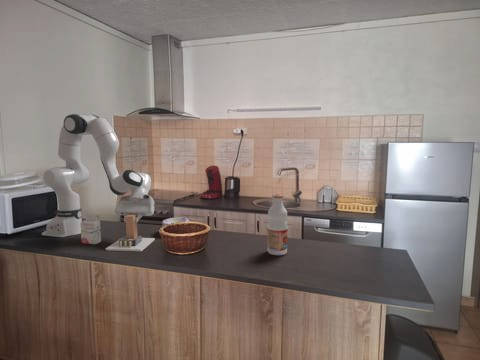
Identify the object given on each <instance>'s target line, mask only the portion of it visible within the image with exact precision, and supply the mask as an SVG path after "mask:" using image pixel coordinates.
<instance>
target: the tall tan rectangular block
mask: <svg viewBox="0 0 480 360" xmlns="http://www.w3.org/2000/svg"><path fill="white" fill-rule="evenodd" d="M137 217H138V216H136V215H127V216H126V222H125V232H126V233H125V234H126V235H127V239H135V238H137V237H138V222H134V220H135V218H137ZM126 235H125V236H126Z"/></svg>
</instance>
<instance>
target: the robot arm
mask: <svg viewBox="0 0 480 360" xmlns="http://www.w3.org/2000/svg"><path fill="white" fill-rule="evenodd" d="M114 130H115V129H113V127H112V125H111V124H110V122H109V121H108V120H107V119H105V118H104V117H99V116H97V115H95V114H87V113H82V114H81V113H79V114H77V113H72V114H69V115H66V116H65V117H64V119H63V125H62V127H61V129H60V133H59V138H58V139H59V140H58V148H57V149H58V150H57V155H58V157H59V158H60V159H61V160H63V161H65V166H59V167H58V166H57V167H52V168H49V169H46V170H45V171H44V173H43V175H42V176H43V177H42V178H43V179H42V180H43V181H44V184H45V185H46V186H47V187H50V188H51V189H52V190H53V191H54V193H55V194H56V197H57V204H58V205H57V206H58V210H56V211H54V213H55V214H56V216H55V217H54V218H52V219H51V220H50V221H49V222H48V223H47V224H46V229H45V230H44V231H42V232H41V236H46V237H57V238H65V237H69V236H75V235H81V223H80V222H82V221H83V220H82V218H83V216H82V215H83V213H82V211H83V210H82V208H81V198H80V194H79V193H77V192H76V191H73V190H72V188H71V186H77V185H81V184H84V183H86V182H88V181H89V179H90V171H89V169H88V168H87V167H86V166H85V165H84V164H83V162H82V158H81V154H82V153H81V152H82V151H81V150H82V138H83V136H84V135H85V136H86V135H91V136H92V138H93V140H94V141H95V143H96V145H97V148H98V151H99V152H98V153H99V157H100V160H101V161H100V162H101V164H102V166H103V167H102V168H104V172H105V173H106V177H107V179H108V183H109V184H108V185H109V189H110V191H111V192H112V193H113V194H114V195H117V196H124V195H125V194H126V193H128V192H129V191H131V192H130V195H129V198H128V199H124V198H122V199H121V200H118V202H117V205H116V206H115V208H114V212H115V214H116V215H117V216H123V217H124V219H123V221H124V223H126V216H127V215H136V217H137V218H135V220H134V222H137V223H139V220H140V219H142V217H143V216H145V217H147V216H149V217H151V216H153V215H154V212H155V200H154V198H153V197H152V196H151V195H149V193H150V189H151V186H152V185H151V184H152V178H151V175H149V174H148V173H146V172H136V171H135V170H133V169H126V170H124V171H123V172H122V173H120V174H119V172H118V169H117V165H116V164H115V158H116V154H117V152H118V150H119V148H120V140H119V138H118V136H117V134H116V132H115V131H114Z"/></svg>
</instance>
